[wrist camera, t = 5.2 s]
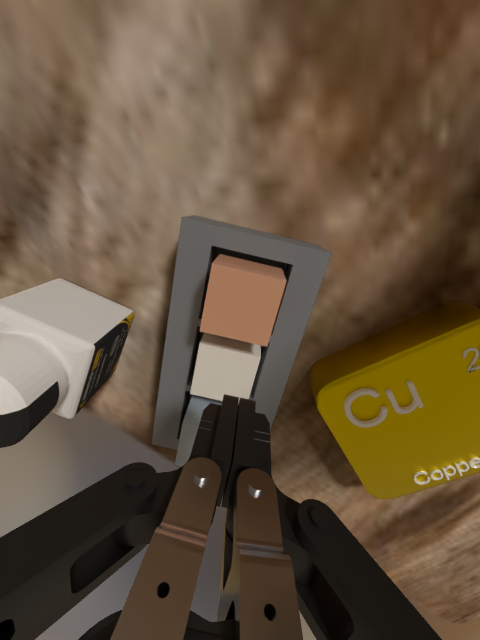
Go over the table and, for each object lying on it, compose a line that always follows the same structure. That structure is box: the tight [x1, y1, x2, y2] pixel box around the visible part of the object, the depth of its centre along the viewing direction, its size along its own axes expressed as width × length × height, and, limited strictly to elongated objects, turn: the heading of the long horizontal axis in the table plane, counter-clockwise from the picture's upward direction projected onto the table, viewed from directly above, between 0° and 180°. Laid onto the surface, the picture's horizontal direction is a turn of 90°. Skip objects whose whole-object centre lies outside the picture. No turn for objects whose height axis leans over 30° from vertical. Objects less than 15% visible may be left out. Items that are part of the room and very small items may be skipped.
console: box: [151, 216, 331, 450], centre depth 24 cm, size 10×20×4 cm, turn 167°
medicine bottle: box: [0, 278, 134, 448], centre depth 20 cm, size 7×7×12 cm
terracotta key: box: [200, 254, 286, 347], centre depth 18 cm, size 4×4×4 cm
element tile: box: [309, 301, 480, 499], centre depth 25 cm, size 15×15×5 cm
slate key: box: [175, 395, 222, 466], centre depth 23 cm, size 4×4×4 cm
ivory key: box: [190, 332, 261, 404], centre depth 22 cm, size 4×4×4 cm
